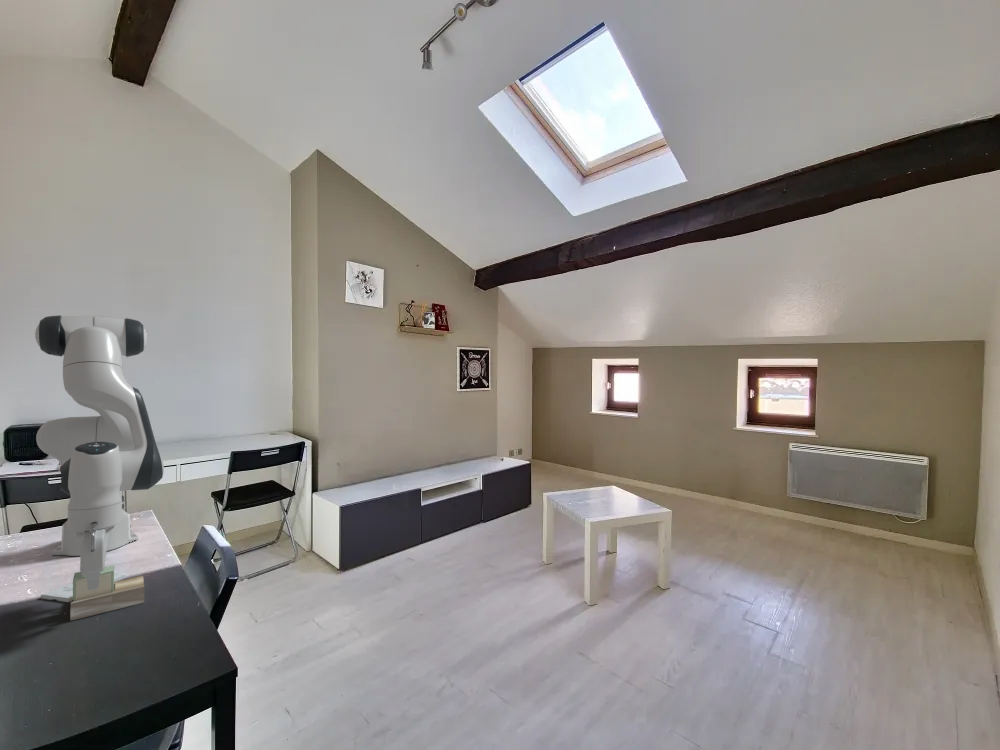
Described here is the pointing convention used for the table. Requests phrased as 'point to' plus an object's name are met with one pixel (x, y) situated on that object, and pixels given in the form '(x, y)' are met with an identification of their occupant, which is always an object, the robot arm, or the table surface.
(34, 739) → the table surface
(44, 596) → the external hard drive
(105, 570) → the tea box
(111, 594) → the shelf
